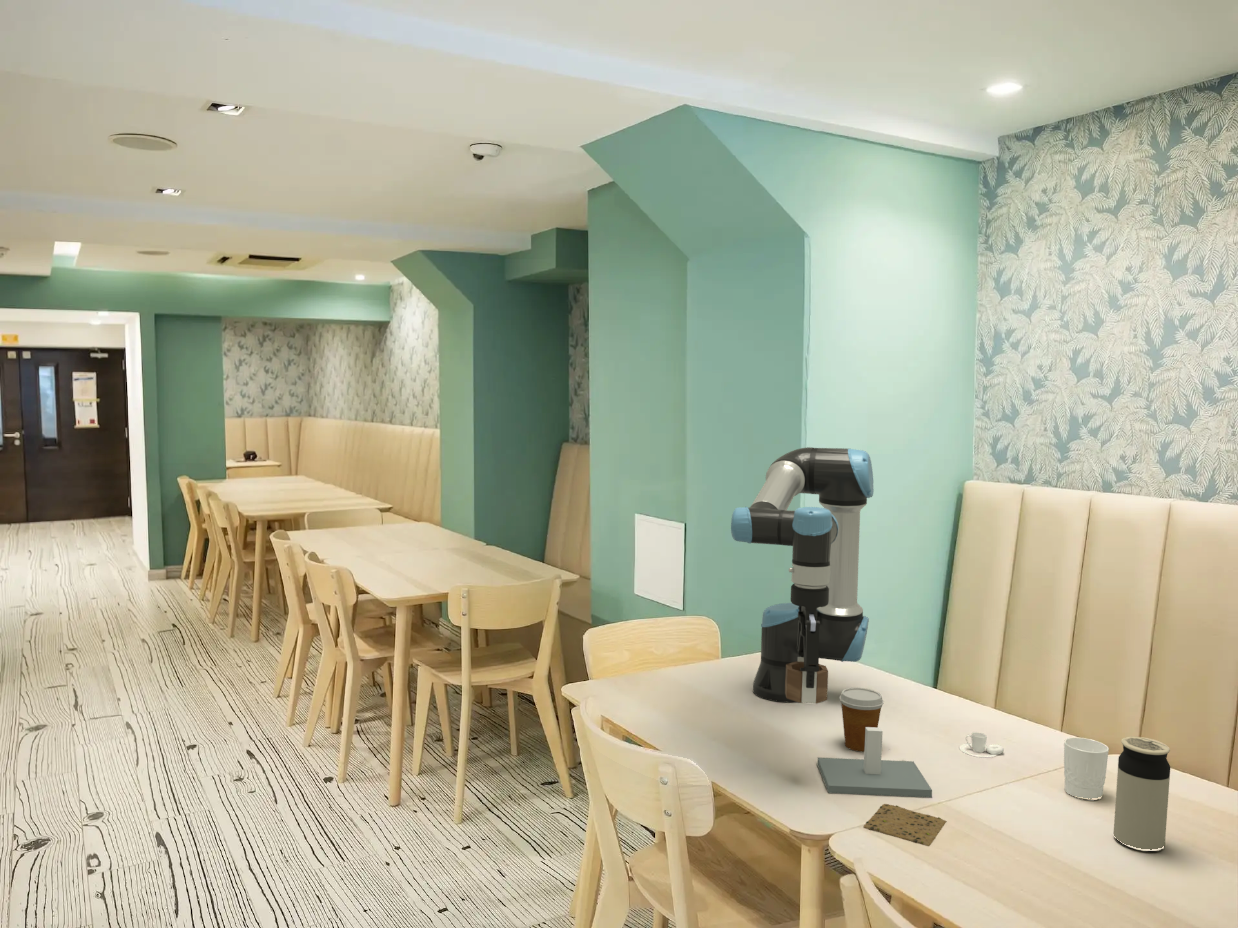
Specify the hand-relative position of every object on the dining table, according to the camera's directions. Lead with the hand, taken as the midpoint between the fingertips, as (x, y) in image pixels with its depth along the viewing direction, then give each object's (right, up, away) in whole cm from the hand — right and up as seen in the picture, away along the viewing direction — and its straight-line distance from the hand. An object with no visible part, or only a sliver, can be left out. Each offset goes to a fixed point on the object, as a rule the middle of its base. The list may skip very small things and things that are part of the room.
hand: (805, 695), depth 188 cm
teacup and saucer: (+42, -18, +15) cm, 48 cm away
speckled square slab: (+14, -20, -18) cm, 31 cm away
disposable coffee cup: (+16, -16, +19) cm, 29 cm away
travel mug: (+54, -20, -24) cm, 63 cm away
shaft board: (+14, -17, +1) cm, 22 cm away
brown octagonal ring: (0, 0, 0) cm, 0 cm away
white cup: (+54, -19, -4) cm, 58 cm away
